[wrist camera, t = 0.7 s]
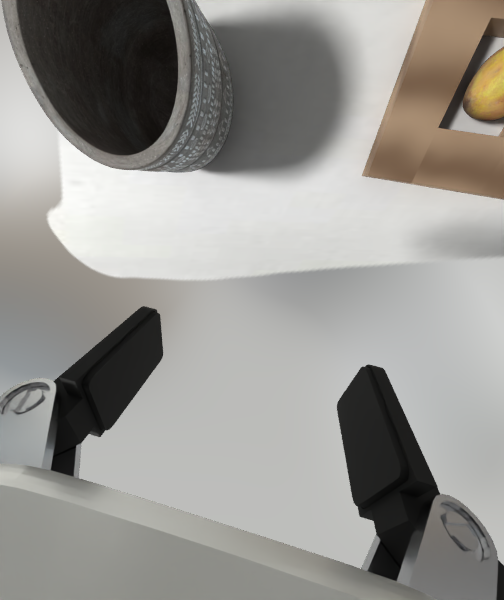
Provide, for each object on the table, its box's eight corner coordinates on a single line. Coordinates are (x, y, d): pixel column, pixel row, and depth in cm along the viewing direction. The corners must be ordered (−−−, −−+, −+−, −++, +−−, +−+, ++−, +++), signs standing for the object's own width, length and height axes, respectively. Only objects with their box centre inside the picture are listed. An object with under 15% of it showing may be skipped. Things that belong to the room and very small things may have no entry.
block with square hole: (449, -64, 18) (469, -96, 16) (685, -46, 17) (742, -78, 15) (361, 175, 28) (367, 175, 25) (507, 200, 26) (526, 202, 24)
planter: (193, 194, 33) (127, 206, 20) (118, 104, 28) (-23, 46, 16) (264, 115, 26) (234, 59, 14) (182, -17, 22) (30, -273, 9)
